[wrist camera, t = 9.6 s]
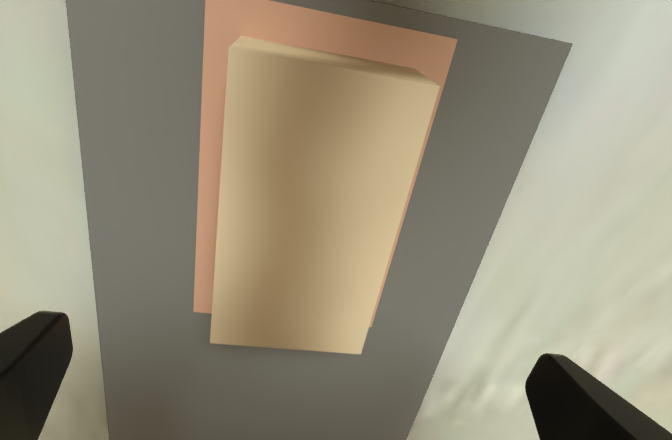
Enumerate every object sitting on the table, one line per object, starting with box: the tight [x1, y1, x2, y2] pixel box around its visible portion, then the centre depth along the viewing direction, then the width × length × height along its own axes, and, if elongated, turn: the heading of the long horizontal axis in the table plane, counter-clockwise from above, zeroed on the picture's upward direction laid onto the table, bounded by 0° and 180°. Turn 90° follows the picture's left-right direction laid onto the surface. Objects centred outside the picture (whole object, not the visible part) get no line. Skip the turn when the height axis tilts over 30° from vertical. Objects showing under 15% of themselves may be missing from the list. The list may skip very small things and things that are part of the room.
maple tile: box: [210, 36, 440, 354], centre depth 13 cm, size 5×9×2 cm, turn 169°
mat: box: [66, 0, 572, 440], centre depth 16 cm, size 20×14×1 cm
